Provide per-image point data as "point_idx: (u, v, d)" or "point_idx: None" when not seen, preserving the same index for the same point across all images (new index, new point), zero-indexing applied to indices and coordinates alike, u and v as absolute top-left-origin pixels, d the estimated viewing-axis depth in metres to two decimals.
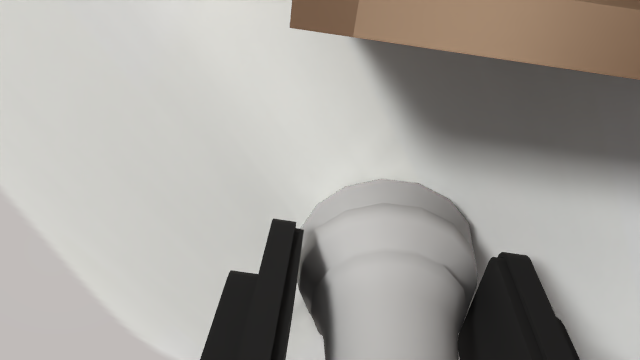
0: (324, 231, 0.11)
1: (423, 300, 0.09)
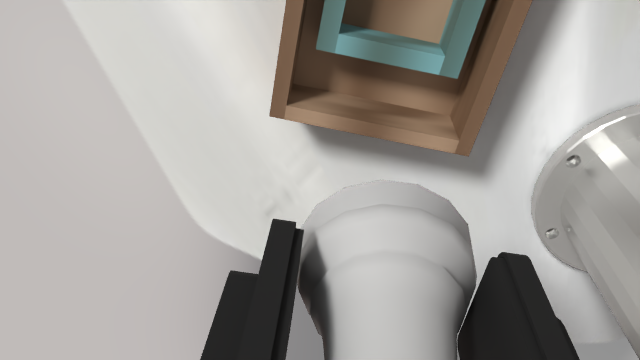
0: (324, 232, 0.11)
1: (422, 301, 0.09)
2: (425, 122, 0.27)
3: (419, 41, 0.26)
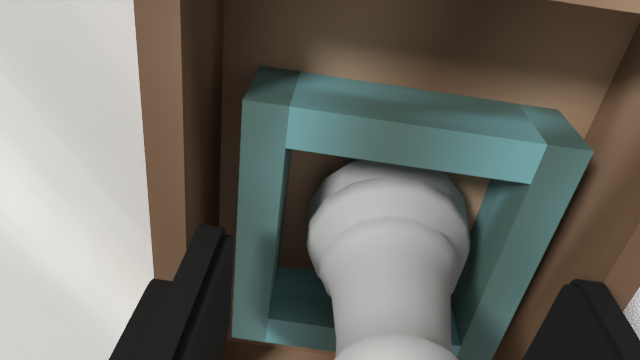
0: (333, 201, 0.12)
1: (421, 261, 0.11)
2: None
3: None
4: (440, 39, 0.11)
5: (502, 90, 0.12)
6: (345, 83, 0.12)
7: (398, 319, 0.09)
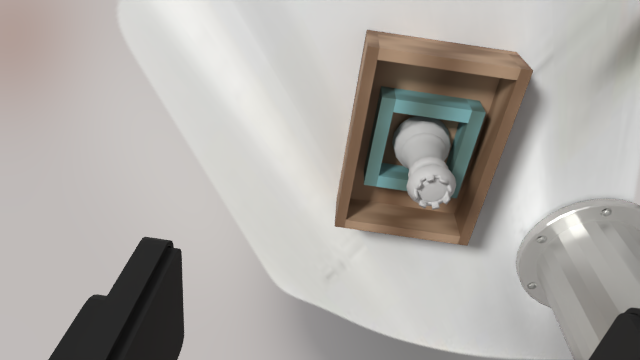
0: (405, 129, 0.36)
1: (434, 144, 0.35)
2: (437, 222, 0.41)
3: None
4: (440, 78, 0.36)
5: (460, 94, 0.36)
6: (409, 92, 0.36)
7: (429, 155, 0.34)
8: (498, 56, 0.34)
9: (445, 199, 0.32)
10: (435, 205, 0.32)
